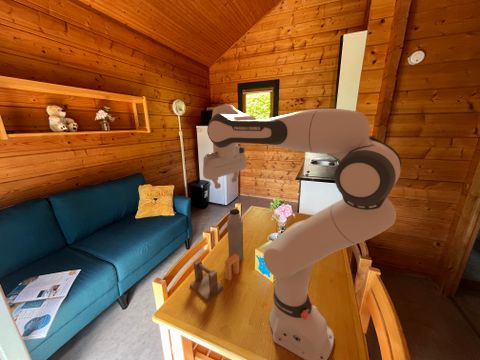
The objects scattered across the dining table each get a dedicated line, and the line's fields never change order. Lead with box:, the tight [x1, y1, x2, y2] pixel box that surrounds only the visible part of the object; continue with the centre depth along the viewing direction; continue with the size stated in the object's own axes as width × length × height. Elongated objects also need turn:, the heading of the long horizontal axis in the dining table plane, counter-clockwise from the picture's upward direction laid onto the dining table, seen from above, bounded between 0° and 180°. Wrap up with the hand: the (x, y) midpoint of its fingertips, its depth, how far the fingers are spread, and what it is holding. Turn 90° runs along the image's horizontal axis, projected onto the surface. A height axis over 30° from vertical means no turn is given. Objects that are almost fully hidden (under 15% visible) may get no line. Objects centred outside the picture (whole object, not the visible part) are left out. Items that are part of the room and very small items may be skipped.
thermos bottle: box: [227, 208, 244, 262], centre depth 106 cm, size 8×8×28 cm
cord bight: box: [224, 254, 240, 281], centre depth 96 cm, size 2×7×10 cm, turn 138°
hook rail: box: [189, 258, 224, 302], centre depth 89 cm, size 12×9×11 cm
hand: (226, 184), depth 80 cm, fingers open, 8 cm apart
